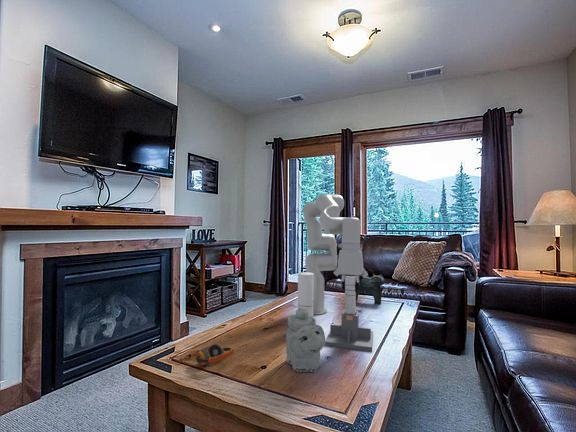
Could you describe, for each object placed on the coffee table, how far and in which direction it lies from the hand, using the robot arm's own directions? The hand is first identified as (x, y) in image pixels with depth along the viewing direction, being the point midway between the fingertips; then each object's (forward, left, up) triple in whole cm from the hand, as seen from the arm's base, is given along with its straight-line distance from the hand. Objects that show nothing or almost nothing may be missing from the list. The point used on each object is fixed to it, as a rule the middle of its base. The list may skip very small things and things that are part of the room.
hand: (350, 290), depth 128 cm
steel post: (0, 0, -12) cm, 12 cm away
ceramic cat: (+4, +66, -21) cm, 69 cm away
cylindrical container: (-21, +8, -20) cm, 30 cm away
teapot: (-12, -30, -20) cm, 38 cm away
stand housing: (0, 0, -20) cm, 20 cm away
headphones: (-45, -35, -21) cm, 61 cm away
